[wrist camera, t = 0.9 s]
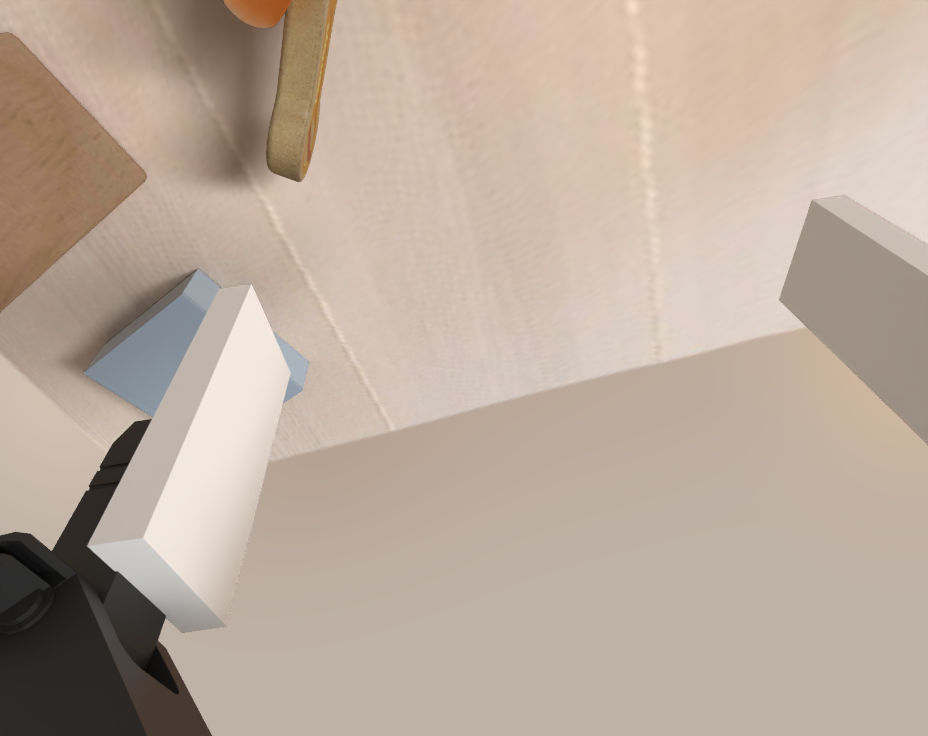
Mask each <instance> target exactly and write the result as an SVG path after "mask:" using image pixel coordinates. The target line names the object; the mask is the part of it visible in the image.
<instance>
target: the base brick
mask: <svg viewBox="0 0 928 736" xmlns="http://www.w3.org/2000/svg"><path fill="white" fill-rule="evenodd" d="M219 289H221V287H220V286H218V285H217V284H216V283H215V282H214V281H212V280H211V279H210V278H209V277H208V276H207V275H205V274H204V273H203V272H202V271H201V270H199V269H197V270H196V271H195V272H193V273H192V274H191V275H190V276H188V277H187V278H186V279H185V280H183V281H182V282H181V283H180V284H179V285H177V286H176V287H175V288H174V289H172V290H171V291H170V292H169V293H167V294H166V295H165V296H164V297H163V298H161V299H160V300H159V301H158V302H156V303H155V304H154V305H153V306H151V307H150V308H149V309H148V310H147V311H145V312H144V313H143V314H142V315H140V316H139V317H138V318H137V319H135V320H134V321H133V322H132V323H131V324H129V325H128V326H127V327H126V328H124V329H123V330H122V331H121V332H119V333H118V334H117V335H116V336H115V337H113V338H112V339H111V340H110V341H108V342H107V343H106V344H105V345H104V346H103V348H102V349H101V350H100V352H99V353H98V354H97V356H96V357H95V358H94V360H93V361H92V362H91V364H90V365H89V366H88V368H87V369H86V370H85V372H84V373H83V374H84V375H86V376H87V377H89V378H91V379H92V380H94V381H95V382H97V383H99V384H100V385H102V386H104V387H105V388H107V389H108V390H110V391H112V392H113V393H115V394H116V395H118V396H120V397H121V398H123V399H125V400H126V401H128V402H129V403H131V404H133V405H134V406H136V407H137V408H139V409H141V410H142V411H144V412H146V413H147V414H149V415H150V416H152V417H153V416H154V414H155V412H156V411H157V409H158V407H159V405H160V403H161V401H162V399H163V397H164V395H165V393H166V391H167V389H168V387H169V385H170V383H171V381H172V379H173V377H174V375H175V373H176V372H177V370H178V368H179V366H180V364H181V362H182V360H183V358H184V356H185V354H186V352H187V350H188V348H189V346H190V344H191V342H192V340H193V338H194V336H195V334H196V333H197V331H198V329H199V327H200V325H201V323H202V321H203V319H204V317H205V315H206V313H207V311H208V309H209V307H210V305H211V303H212V301H213V299H214V297H215V295H216V294H217V292H218V290H219ZM272 332H273V331H272ZM273 334H274V336H275V338H276V341H277V343H278V345H279V347H280V350H281V352H282V354H283V356H284V359H285V361H286V363H287V366H288V368H289V370H290V372H291V374H290V377H289V381H288V385H287V389H286V393H285V397H284V401H283V403H284V402H286V401H287V400H289V399H290V398H292V397H293V396H295V395H296V394H298V393H299V392H301V391H302V390H303V386H304V381H305V377H306V373H307V368H308V364H309V361H307V360H306V359H305V358H304V357H303V356H301V355H300V354H299V353H298V352H297V351H296V350H294V349H293V348H292V347H291V346H290V345H288V344H287V343H286V342H285V341H284V340H282V339H281V338H280V337H279V336H278V335H277V334H275V333H274V332H273Z"/></svg>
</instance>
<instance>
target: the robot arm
mask: <svg viewBox="0 0 928 736" xmlns="http://www.w3.org/2000/svg"><path fill="white" fill-rule="evenodd" d="M779 300H780V301H781V302H782V303H783V304H784V305H785V306H786V307H787V308H788V309H789V310H790V311H791V312H792V313H793V314H794V315H795V316H796V317H797V318H798V319H799V320H800V321H801V322H802V323H803V324H804V325H805V326H806V327H807V328H808V329H809V330H810V331H811V332H812V333H814V335H815V336H817V337H818V338H819V339H820V340H821V341H822V342H823V343H824V344H825V345H826V346H827V347H828V348H829V349H830V350H831V351H832V352H833V353H834V354H835V355H836V356H837V357H838V358H839V359H840V360H841V361H842V362H843V363H844V364H845V365H846V366H847V367H848V368H850V370H852V372H853V373H854V374H856V375H857V376H858V377H859V378H860V379H861V380H862V381H863V382H864V383H865V384H866V385H867V386H868V387H869V388H870V389H871V390H872V391H873V392H874V393H875V394H876V395H877V396H878V397H879V398H880V399H881V400H882V401H883V402H884V403H885V404H886V405H887V406H888V407H889V408H890V409H892V411H894V412H895V413H896V414H897V415H898V416H899V417H900V418H901V419H902V420H903V421H904V422H905V423H906V424H907V425H908V426H909V427H910V428H911V429H912V430H913V431H914V432H915V433H916V434H917V435H918V436H919V437H920V438H921V439H922V440H923V441H924V442H925V443H926V444H928V244H927V243H925V242H923V241H922V240H920V239H918V238H917V237H915V236H913V235H911V234H910V233H908V232H906V231H905V230H903V229H901V228H900V227H898V226H896V225H895V224H893V223H891V222H890V221H888V220H886V219H884V218H883V217H881V216H879V215H878V214H876V213H874V212H873V211H871V210H869V209H868V208H866V207H864V206H863V205H861V204H859V203H857V202H856V201H854V200H852V199H851V198H849V197H847V196H846V195H841V196H835V197H828V198H821V199H815V200H812V201H811V204H810V207H809V210H808V213H807V216H806V219H805V222H804V225H803V229H802V232H801V235H800V238H799V241H798V244H797V247H796V250H795V253H794V256H793V259H792V262H791V265H790V268H789V271H788V274H787V277H786V280H785V283H784V286H783V289H782V292H781V295H780V298H779ZM290 374H291V372H290V370H289V368H288V366H287V363H286V361H285V359H284V356H283V354H282V352H281V350H280V347H279V345H278V343H277V341H276V338H275V336H274V334H273V332H272V329H271V327H270V325H269V323H268V320H267V318H266V316H265V313H264V311H263V309H262V307H261V304H260V302H259V300H258V298H257V295H256V293H255V291H254V289H253V286H252V284H248V285H241V286H234V287H228V288H221V289H219V290H218V292H217V294H216V295H215V297H214V299H213V301H212V303H211V305H210V307H209V309H208V311H207V313H206V315H205V317H204V319H203V321H202V323H201V325H200V327H199V329H198V331H197V333H196V334H195V336H194V338H193V340H192V342H191V344H190V346H189V348H188V350H187V352H186V354H185V356H184V358H183V360H182V362H181V364H180V366H179V368H178V370H177V372H176V373H175V375H174V377H173V379H172V381H171V383H170V385H169V387H168V389H167V391H166V393H165V395H164V397H163V399H162V401H161V403H160V405H159V407H158V409H157V411H156V412H155V414H154V416H153V418H152V419H150V420H143V421H136V422H134V423H133V424H132V425H131V426H130V427H129V428H128V429H127V430H126V431H125V432H124V433H123V434H122V435H121V436H120V437H119V438H118V439H117V440H116V441H115V442H114V443H113V444H112V446H111V448H110V449H109V451H108V453H107V455H106V456H105V458H104V460H103V462H102V464H101V465H100V471H97V473H96V474H95V476H94V478H93V479H92V481H91V483H90V485H89V487H90V489H89V491H86V492H85V494H84V496H83V497H82V499H81V501H80V503H79V504H78V506H77V508H76V510H75V511H74V513H73V515H72V517H71V518H70V520H69V522H68V524H67V526H66V527H65V529H64V531H63V533H62V535H61V536H60V538H59V540H58V541H57V543H56V545H55V547H54V549H53V550H52V551H50V550H49V549H48V548H47V547H46V546H45V545H43V544H42V543H41V542H40V541H39V540H37V539H36V538H35V537H34V536H33V535H31V534H28V533H20V532H13V533H9V534H5V535H1V536H0V736H212V735H211V733H210V731H209V729H208V727H207V725H206V723H205V722H204V720H203V718H202V716H201V714H200V712H199V710H198V708H197V706H196V705H195V703H194V701H193V699H192V697H191V695H190V693H189V691H188V689H187V687H186V686H185V684H184V682H183V680H182V678H181V676H180V674H179V672H178V670H177V668H176V667H175V665H174V663H173V661H172V659H171V657H170V655H169V653H168V652H167V649H166V648H165V647H164V646H163V645H162V644H161V643H160V642H159V641H158V638H159V635H160V632H161V629H162V626H163V623H164V621H165V618H166V619H167V620H168V621H170V622H171V623H172V624H173V625H174V626H175V627H176V628H177V629H178V630H179V631H180V632H182V633H185V632H192V631H199V630H206V629H213V628H219V627H226V626H227V623H228V620H229V616H230V612H231V608H232V603H233V600H234V596H235V592H236V588H237V584H238V580H239V576H240V572H241V568H242V564H243V560H244V556H245V552H246V548H247V544H248V540H249V536H250V532H251V528H252V524H253V520H254V516H255V512H256V508H257V504H258V500H259V496H260V493H261V489H262V485H263V480H264V476H265V473H266V469H267V465H268V461H269V457H270V453H271V449H272V445H273V441H274V437H275V433H276V429H277V425H278V421H279V417H280V413H281V409H282V405H283V401H284V397H285V393H286V389H287V385H288V381H289V377H290Z"/></svg>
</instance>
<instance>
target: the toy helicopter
mask: <svg viewBox="0 0 928 736" xmlns="http://www.w3.org/2000/svg"><path fill="white" fill-rule="evenodd" d="M223 1H224V3H225V5H226V6H227V7H228V9H229V10H230V11H231V12H232V13H233V15H235V16H236V17H237V18H238V19H240V20H241V21H243V22H244V23H246V24H248V25H251V26H253V27H257V28H271V27H273V26H275V25H276V24H277V23H278V21H279V20H280V18H281V17H282V16H283V14H284V13H285V21H284V31H283V40H282V49H281V59H280V68H279V77H278V87H277V94H276V100H275V104H274V109H273V113H272V117H271V121H270V126H269V132H268V139H267V151H266V158H267V166H268V168H269V170H270V171H271V172H273V173H275V174H277V175H280V176H283V177H286V178H289V179H291V180H294V181H297V182H301V181H302V180H303V179H304V177H305V175H306V173H307V170H308V167H309V164H310V161H311V157H312V153H313V149H314V144H315V139H316V134H317V128H318V121H319V111H320V98H321V90H322V86H323V80H324V74H325V68H326V62H327V56H328V50H329V44H330V38H331V32H332V26H333V19H334V14H335V9H336V4H337V0H223ZM285 11H286V12H285Z"/></svg>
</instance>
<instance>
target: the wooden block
mask: <svg viewBox="0 0 928 736" xmlns="http://www.w3.org/2000/svg"><path fill="white" fill-rule="evenodd" d="M146 177H147V175H146V173H145V172H144V170H143V169H142V168H141V167H140V166H139V165H138V164H137V163H136V162H135V161H134V160H133V159H132V158H131V157H130V156H129V154H128V153H127V152H126V151H125V150H124V149H123V148H122V147H121V146H120V145H119V144H118V143H117V142H116V141H115V140H114V139H113V138H112V137H111V135H110V134H109V133H108V132H107V131H106V130H105V129H104V128H103V127H102V126H101V125H100V124H99V123H98V122H97V121H96V120H95V119H94V118H93V117H92V115H91V114H90V113H89V112H88V111H87V110H86V109H85V108H84V107H83V106H82V105H81V104H80V103H79V102H78V101H77V100H76V99H75V98H74V96H73V95H72V94H71V93H70V92H69V91H68V90H67V89H66V88H65V87H64V86H63V85H62V84H61V83H60V82H59V81H58V80H57V79H56V77H55V76H54V75H53V74H52V73H51V72H50V71H49V70H48V69H47V68H46V67H45V66H44V65H43V64H42V63H41V62H40V61H39V60H38V58H37V57H36V56H35V55H34V54H33V53H32V52H31V51H30V50H29V49H28V48H27V47H26V46H25V45H24V44H23V43H22V42H21V41H20V39H19V38H18V37H16V36H15V35H13V34H12V33H9V32H6V33H0V312H1V311H2V310H3V309H4V308H5V307H7V306H8V305H9V304H10V303H11V302H12V301H13V300H14V299H15V298H16V297H18V296H19V295H20V294H21V293H22V292H23V291H24V290H25V289H26V288H28V287H29V286H30V285H31V284H32V283H33V282H34V281H35V280H36V279H37V278H39V277H40V276H41V275H42V274H43V273H44V272H45V271H46V270H47V269H49V268H50V267H51V266H52V265H53V264H54V263H55V262H56V261H57V260H58V259H60V258H61V257H62V256H63V255H64V254H65V253H66V252H67V251H68V250H70V249H71V248H72V247H73V246H74V245H75V244H76V243H77V242H78V241H79V240H81V239H82V238H83V237H84V236H85V235H86V234H87V233H88V232H89V231H91V230H92V229H93V228H94V227H95V226H96V225H97V224H98V223H99V222H100V221H102V220H103V219H104V218H105V217H106V216H107V215H108V214H109V213H110V212H112V211H113V210H114V209H115V208H116V207H117V206H118V205H119V204H120V203H121V202H123V201H124V200H125V199H126V198H127V197H128V196H129V195H130V194H131V193H133V192H134V191H135V190H136V189H137V188H138V187H139V186H140V185H141V184H142V183H144V182H145V179H146Z"/></svg>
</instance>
